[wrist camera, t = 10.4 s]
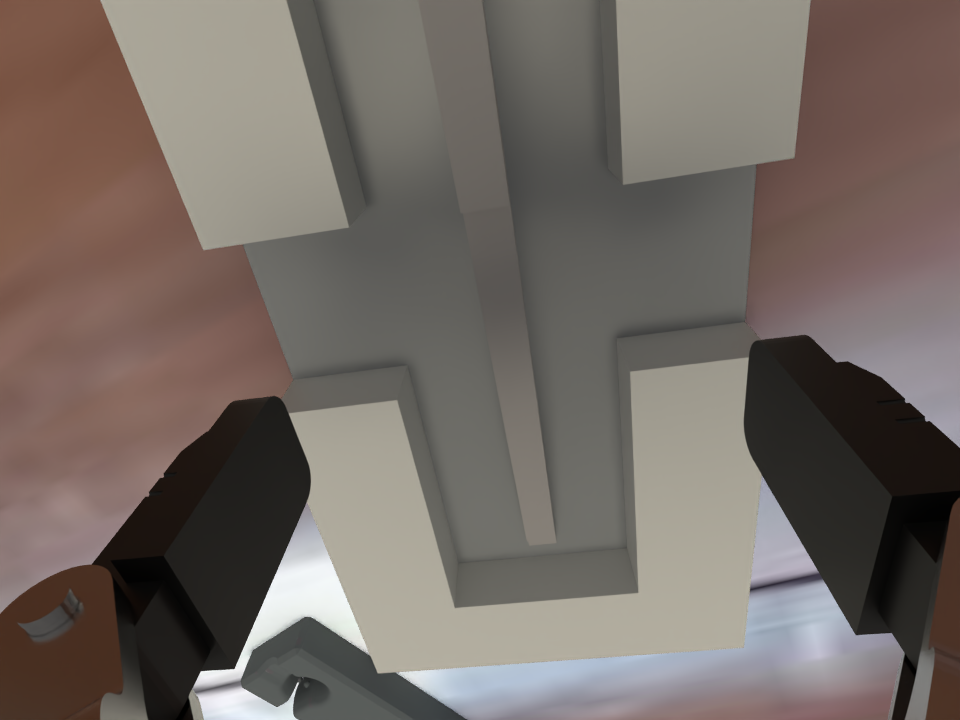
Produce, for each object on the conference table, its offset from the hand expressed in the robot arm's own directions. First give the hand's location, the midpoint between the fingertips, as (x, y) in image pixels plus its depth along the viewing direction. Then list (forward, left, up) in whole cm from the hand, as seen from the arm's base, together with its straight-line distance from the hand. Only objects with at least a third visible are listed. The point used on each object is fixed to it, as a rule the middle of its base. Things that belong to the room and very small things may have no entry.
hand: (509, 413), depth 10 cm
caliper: (0, 0, -7) cm, 7 cm away
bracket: (+10, +20, -8) cm, 24 cm away
